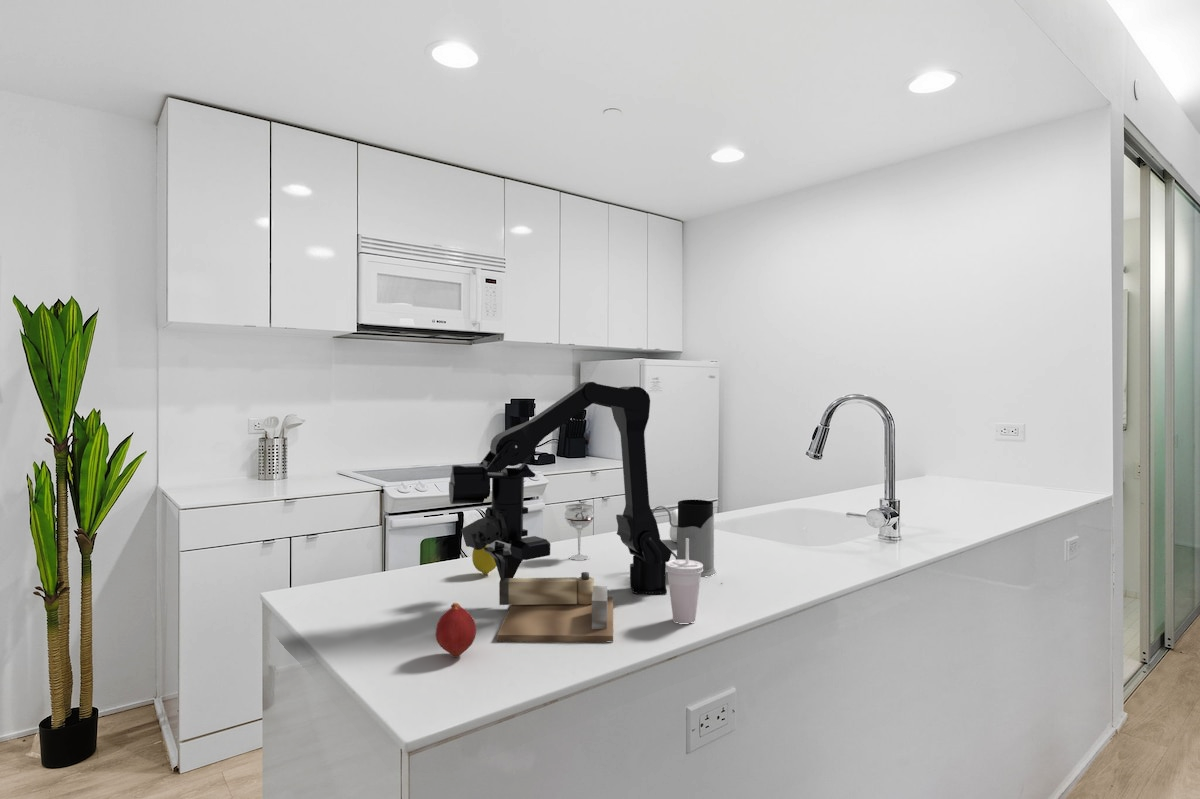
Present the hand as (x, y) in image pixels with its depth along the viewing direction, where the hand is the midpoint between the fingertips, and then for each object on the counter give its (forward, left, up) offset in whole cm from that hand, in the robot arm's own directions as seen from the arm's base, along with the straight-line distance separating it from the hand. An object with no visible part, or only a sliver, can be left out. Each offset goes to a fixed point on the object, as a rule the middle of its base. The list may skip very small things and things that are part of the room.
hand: (505, 587), depth 124 cm
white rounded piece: (-39, -50, -4) cm, 63 cm away
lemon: (+7, -20, -3) cm, 22 cm away
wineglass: (-12, -35, -3) cm, 37 cm away
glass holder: (-35, -24, -3) cm, 42 cm away
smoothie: (-32, +8, -3) cm, 33 cm away
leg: (-8, +2, -2) cm, 8 cm away
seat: (-11, +8, -3) cm, 14 cm away
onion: (+3, +24, -3) cm, 25 cm away
